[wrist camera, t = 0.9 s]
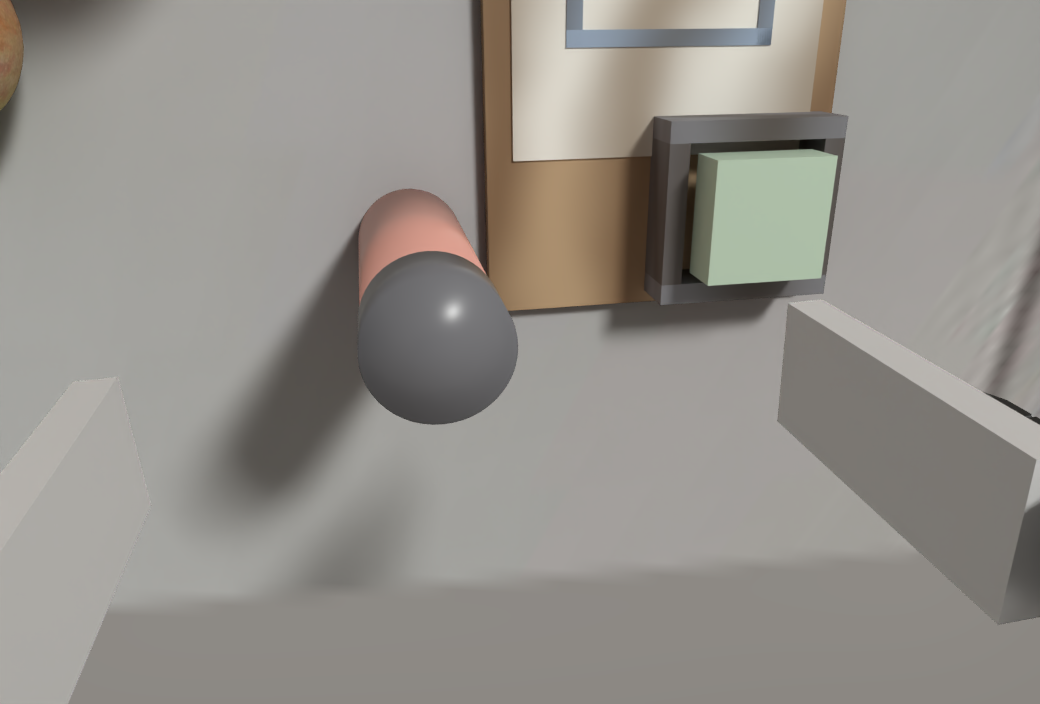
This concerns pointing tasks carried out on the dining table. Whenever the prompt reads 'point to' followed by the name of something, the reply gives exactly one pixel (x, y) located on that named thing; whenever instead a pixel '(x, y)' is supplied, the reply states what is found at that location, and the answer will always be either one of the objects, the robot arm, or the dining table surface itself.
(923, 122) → the dining table surface
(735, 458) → the dining table surface
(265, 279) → the dining table surface
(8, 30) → the fruit
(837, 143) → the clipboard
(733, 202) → the button
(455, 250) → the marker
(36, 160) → the dining table surface
